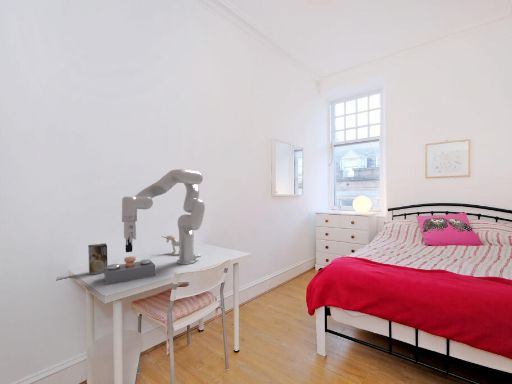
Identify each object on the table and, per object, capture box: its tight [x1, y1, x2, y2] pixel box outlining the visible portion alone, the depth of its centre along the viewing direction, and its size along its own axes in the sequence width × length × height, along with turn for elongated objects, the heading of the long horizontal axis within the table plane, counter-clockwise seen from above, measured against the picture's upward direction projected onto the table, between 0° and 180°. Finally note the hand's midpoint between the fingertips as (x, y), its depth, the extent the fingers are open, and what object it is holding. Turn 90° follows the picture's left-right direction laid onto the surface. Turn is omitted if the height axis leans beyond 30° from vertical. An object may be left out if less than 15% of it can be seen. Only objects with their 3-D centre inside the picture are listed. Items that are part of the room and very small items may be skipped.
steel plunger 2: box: [139, 258, 152, 265], centre depth 150 cm, size 6×6×6 cm
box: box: [103, 260, 156, 285], centre depth 145 cm, size 24×12×6 cm, turn 125°
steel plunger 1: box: [108, 263, 120, 270], centre depth 141 cm, size 6×6×6 cm
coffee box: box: [87, 242, 109, 276], centre depth 152 cm, size 9×6×16 cm
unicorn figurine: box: [161, 234, 179, 254], centre depth 195 cm, size 7×20×13 cm, turn 87°
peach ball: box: [124, 256, 137, 268], centre depth 145 cm, size 6×6×6 cm
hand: (128, 251), depth 145 cm, fingers closed
